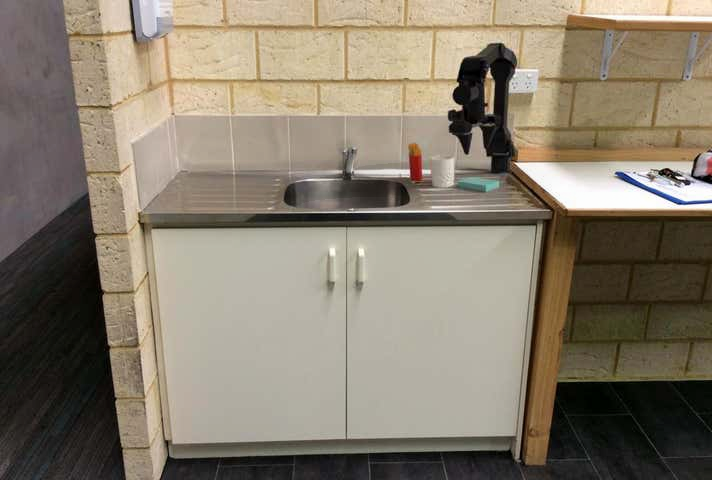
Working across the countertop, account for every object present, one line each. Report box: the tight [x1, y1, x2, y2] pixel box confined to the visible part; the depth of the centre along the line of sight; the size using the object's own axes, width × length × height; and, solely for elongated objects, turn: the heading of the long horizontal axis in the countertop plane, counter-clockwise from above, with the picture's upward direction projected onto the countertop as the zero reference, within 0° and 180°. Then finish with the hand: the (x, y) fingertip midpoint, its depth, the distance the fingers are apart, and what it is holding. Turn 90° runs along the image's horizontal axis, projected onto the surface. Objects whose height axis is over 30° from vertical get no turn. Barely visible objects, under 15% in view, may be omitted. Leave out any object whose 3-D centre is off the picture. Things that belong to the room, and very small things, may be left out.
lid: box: [457, 176, 500, 193], centre depth 190 cm, size 6×11×2 cm, turn 41°
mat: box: [453, 185, 505, 195], centre depth 191 cm, size 10×12×1 cm
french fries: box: [407, 142, 423, 183], centre depth 207 cm, size 9×4×13 cm, turn 175°
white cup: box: [429, 154, 455, 188], centre depth 196 cm, size 8×8×10 cm
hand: (476, 151), depth 187 cm, fingers open, 9 cm apart
